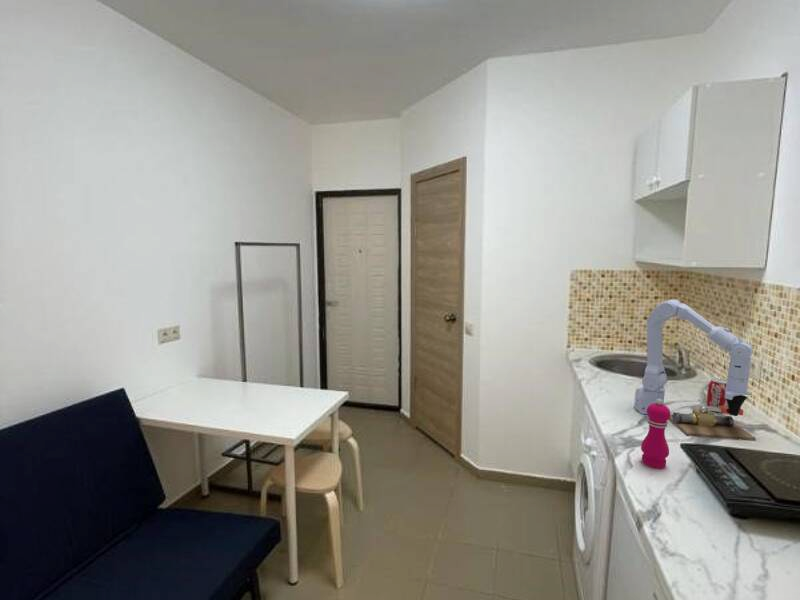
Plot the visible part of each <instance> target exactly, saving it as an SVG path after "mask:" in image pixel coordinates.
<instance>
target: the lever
mask: <svg viewBox="0 0 800 600" xmlns="http://www.w3.org/2000/svg"><path fill="white" fill-rule="evenodd" d="M698 409H699V411H702V412H708V411H710V412H715V411H718V412H717V413H720V414H725V415H729V407H727V406H719V407H712V406H707V405H699V407H698ZM738 416H744V410H743V409H742V407H741V408H740V411H739V414H738Z"/></svg>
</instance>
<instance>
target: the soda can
mask: <svg viewBox="0 0 800 600" xmlns="http://www.w3.org/2000/svg"><path fill="white" fill-rule="evenodd" d="M726 385H727V379H722V378H717V377H715V378H711V379H710V381H709V382H708V385H707V393H706V395H707V396H706V401H705V402H706V405H705V406H712V407H719V406H727V407H728V403H727V400H726V398H725V396H724V395H725V393H726V391H725V388H726ZM714 412H715V413H719V412H718V411H714Z"/></svg>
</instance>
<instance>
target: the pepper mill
mask: <svg viewBox="0 0 800 600" xmlns="http://www.w3.org/2000/svg"><path fill="white" fill-rule="evenodd" d="M646 415H647V416H648V417H647V424H648V431H647V432H648V433H647V434H646V436H645V437H644V439H642V441H641V446H640V450H641V452H642V455H641V462H642V463H643V464H644V465H646V466H647V467H650V468H654V469H658V470H659V469H665V468H666V467H667V459H666V458H667V457H669V455H670V448H669V444H668V442H667V439H666V436H665V433H666V432H665V430H666V428H667V427H668V423H669V422H668V421H669V418H670V415H672V414H671V409H670V408H669V407H668V406H667V405H665V404H663V401H662V400H661V399H657V400H656V403H653V404H651V405H649V406H648V408H647V414H646Z"/></svg>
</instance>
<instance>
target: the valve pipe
mask: <svg viewBox="0 0 800 600" xmlns="http://www.w3.org/2000/svg"><path fill="white" fill-rule="evenodd" d="M672 415H673V416H672V418H673V422H674V423H691V424H695V425H697V426H702V427H713V426H716V425H721V426H728V427H733V425H734V423H735V420H734V417H732V415H725V416H724V415H723V416H722V415H716V414H714V413H713V412H712V411H708V412H702V411H699V408H692V410H691V413H680V412H675V411H674V412H673V413H672Z"/></svg>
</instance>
